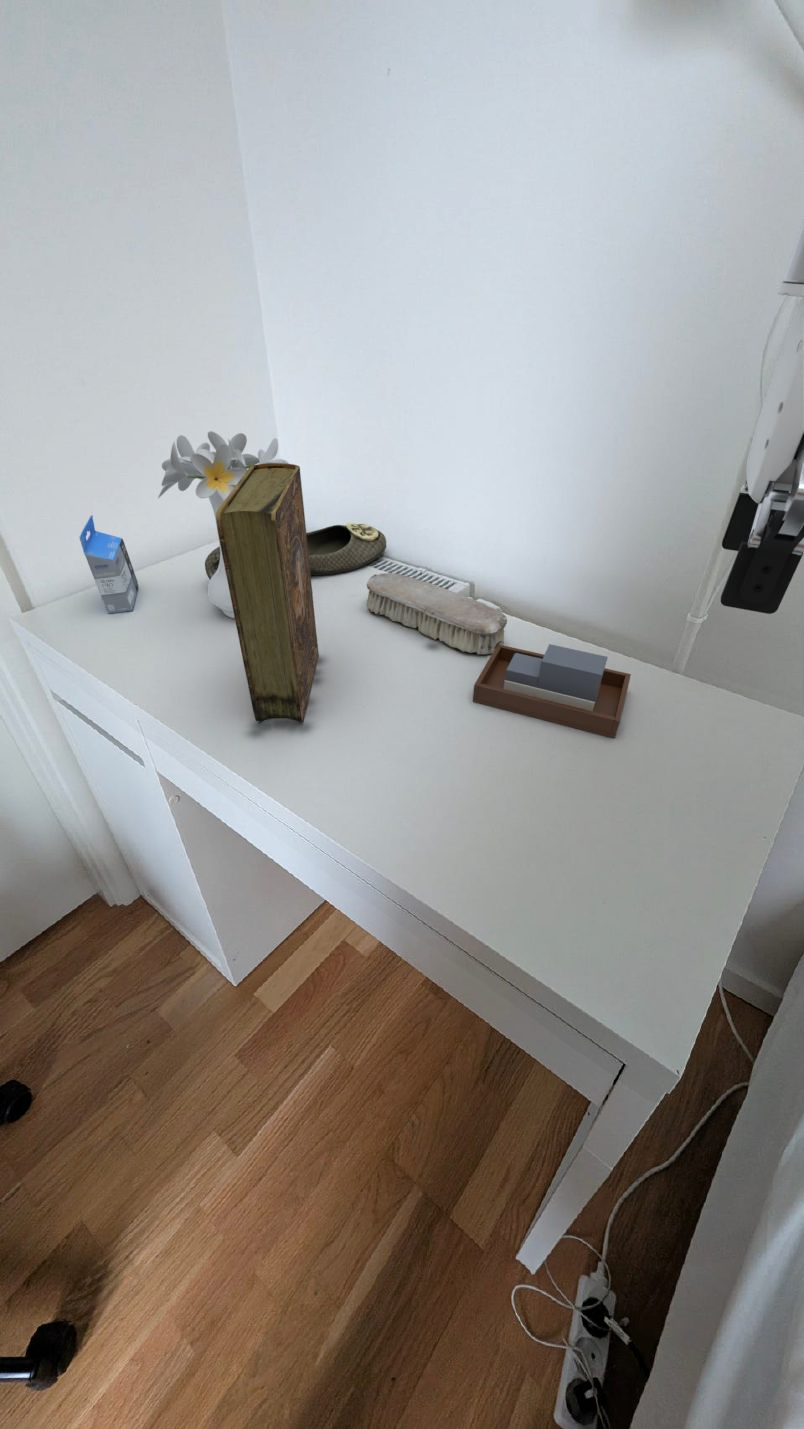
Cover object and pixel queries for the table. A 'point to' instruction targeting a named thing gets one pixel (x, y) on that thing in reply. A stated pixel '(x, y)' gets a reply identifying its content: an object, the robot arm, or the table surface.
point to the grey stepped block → (558, 676)
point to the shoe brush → (437, 612)
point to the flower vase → (214, 485)
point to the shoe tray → (595, 721)
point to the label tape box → (110, 568)
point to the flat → (331, 549)
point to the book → (271, 587)
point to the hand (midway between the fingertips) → (744, 576)
